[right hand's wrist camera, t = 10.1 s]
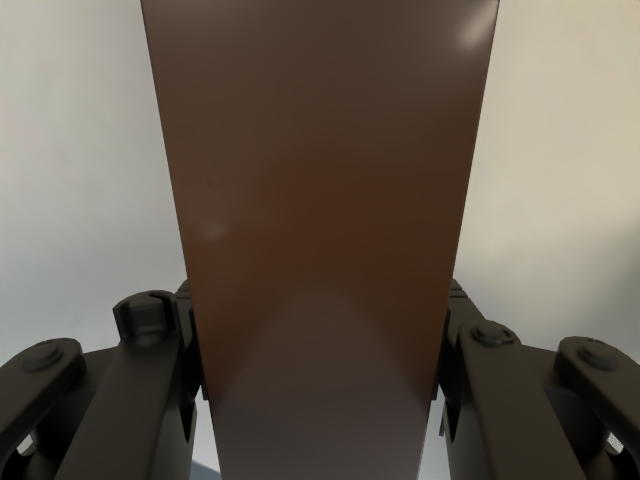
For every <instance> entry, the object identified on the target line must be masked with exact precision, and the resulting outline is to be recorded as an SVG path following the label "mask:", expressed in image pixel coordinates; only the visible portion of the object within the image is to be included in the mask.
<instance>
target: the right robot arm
mask: <svg viewBox="0 0 640 480" xmlns="http://www.w3.org/2000/svg"><path fill="white" fill-rule="evenodd" d="M113 313H114V317H115V320H116V324H117V328H118V332H119V335H120V339H121V340H120V342H119V344H118V346H116V347H112V348H108V349H103V350H98V351H93V352H88V353H83V351H82V348H81V345H80V343H79V342H78V341H76V340H75V339H70V338H58V339H51V340H46V341H43V342H40V343H37V344H35V345H34V346H31V347H29V348H27V349H25V350H23V351H22V352H20V353H19V354H17V355H16V356H14V357H13V358H12V359H10V360H9V361H8V362H7V363H5V364H4V365H3V366H2V367H1V368H0V480H189V478H190V469H191V461H192V453H193V445H194V436H195V428H196V419H197V409H196V403H195V397H196V395H197V392H198V390H199V387H200V385H201V388H202V394H203V400H208V395H207V389H206V384H205V378H204V372H203V366H202V360H201V354H200V348H199V342H198V337H197V331H196V325H195V319H194V313H193V307H192V301H191V296H190V290H189V284H188V279H187V280H185V281H184V282H183V284H182V285H181V286H180V288H179V289H178V292H176V293H175V294H173V293H171V292H168V291H164V290H151V291H146V292H140V293H137V294H135V295H132V296H129V297H127V298H125V299H124V300H122V301H120V302H118V304H117V305H116V306H115V307H114V308H113ZM439 384H440V386H441V389H442V391H443V393H444V396H445V403H444V409H443V414H442V419H441V425H440V431H439V436H444V431H445V435H446V444H447V452H448V460H449V469H450V477H451V480H640V365H638V364H637V363H636V362H635V361H633V360H632V359H631V358H630V357H628V356H627V355H626V354H624V353H623V352H621V351H620V350H618V349H617V348H615V347H613V346H610V345H608V344H606V343H604V342H602V341H600V340H594V339H593V338H588V337H578V336H572V337H566V338H564V339H563V340H562V341H561V342H560V344H559V347H558V350H557V352H555V351H550V350H545V349H540V348H535V347H530V346H526V345H522V344H521V342H520V339H519V338H518V337H517V336H516V334H515V333H514V332H513V331H511V330H510V329H508V328H507V327H506V326H504V325H501V324H499V323H496V322H494V321H490V320H486V319H485V318H484V317H483V315H482V314H481V313H480V311H479V310H478V309H477V307H476V306H475V305H474V303H473V302H472V301H471V300H470V298H468V296H467V294H466V293H465V292H464V290H462V288H461V286H460V285H459V284H458V283H457V281H456V280H455V279H453V278H452V283H451V289H450V295H449V300H448V306H447V312H446V318H445V324H444V330H443V335H442V341H441V347H440V353H439V359H438V365H437V371H436V376H435V382H434V388H433V394H432V400H436V398H437V392H438V386H439ZM611 432H612V433H613V435H614V436H615V437H616V438H617V439H618V440H619V441H620V442H621V443H622V445H623V446H624V447H623V449H622V451H621V453H619V452H618V451H616V450H615V449H614V448H613V447H612V446H611V444H610V443H609V442H608V441H607V440H608V437H609V435H610V433H611ZM29 434H30V436H31V438H32V440H33V443H32V444H31V445H30V446H29V448H28V449H26V450H25V451H24V452H23V453H22V454H19V452H18V450H17V447H18V446H19V445H20V444H21V442H22V441H23V440H24V439H25V438H26V437H27V436H28V435H29Z"/></svg>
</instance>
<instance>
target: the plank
mask: <svg viewBox="0 0 640 480" xmlns="http://www.w3.org/2000/svg"><path fill="white" fill-rule="evenodd" d="M140 2H141V8H142V14H143V20H144V26H145V32H146V37H147V43H148V49H149V55H150V61H151V67H152V73H153V79H154V84H155V90H156V96H157V102H158V108H159V114H160V120H161V125H162V131H163V137H164V143H165V149H166V155H167V161H168V166H169V172H170V178H171V184H172V190H173V196H174V202H175V208H176V213H177V219H178V225H179V231H180V237H181V243H182V249H183V254H184V260H185V266H186V272H187V278H188V284H189V290H190V296H191V301H192V307H193V313H194V319H195V325H196V331H197V337H198V342H199V348H200V354H201V360H202V366H203V372H204V378H205V384H206V389H207V395H208V401H209V407H210V413H211V419H212V425H213V430H214V436H215V442H216V448H217V454H218V460H219V466H220V471H221V477H222V480H418V476H419V470H420V464H421V458H422V452H423V447H424V441H425V435H426V429H427V423H428V417H429V412H430V406H431V400H432V394H433V388H434V382H435V376H436V371H437V365H438V359H439V353H440V347H441V341H442V335H443V330H444V324H445V318H446V312H447V306H448V300H449V295H450V289H451V283H452V277H453V271H454V265H455V259H456V254H457V248H458V242H459V236H460V230H461V224H462V218H463V213H464V207H465V201H466V195H467V189H468V183H469V178H470V172H471V166H472V160H473V154H474V148H475V142H476V137H477V131H478V125H479V119H480V113H481V107H482V102H483V96H484V90H485V84H486V78H487V72H488V66H489V61H490V55H491V49H492V43H493V37H494V31H495V25H496V20H497V14H498V8H499V2H500V0H140Z"/></svg>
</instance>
